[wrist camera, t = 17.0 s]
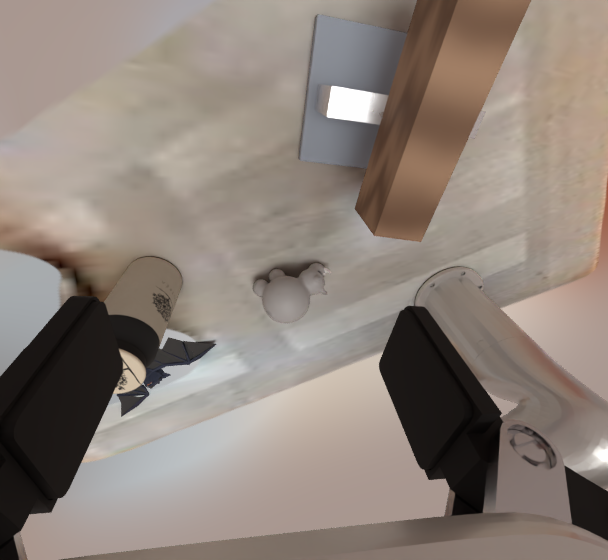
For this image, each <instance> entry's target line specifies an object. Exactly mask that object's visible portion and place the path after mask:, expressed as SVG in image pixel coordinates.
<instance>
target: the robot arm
mask: <svg viewBox="0 0 608 560" xmlns="http://www.w3.org/2000/svg"><path fill="white" fill-rule="evenodd" d="M483 289H484V284H483V280H482V278H481V277H480V275H478V274H477V273H476V272H475V271H474V270H472V269H469V268H465V267H454V268H450V269H446V270H444V271H441V272H439V273H438V274H436V275H434V276H433V277H431V278H430V279H429V280H428V281H427V282H425V283H424V285H423V286H422V287H421V288H420V290H419V292H418V294H417V296H416V299H415V306H407V307H406V308H405V309H404V310H402V311H400V313H399V316H398V318H397V320H396V323H395V325H394V328H393V330H392V333H391V335H390V337H389V340H388V342H387V345H386V347H385V350H384V352H383V355H382V357H381V359H380V363H379V369H380V372H381V375H382V377H383V380H384V382H385V385H386V387H387V390H388V392H389V394H390V397H391V399H392V402H393V404H394V407H395V409H396V411H397V414H398V416H399V419H400V421H401V424H402V426H403V429H404V431H405V434H406V436H407V438H408V441H409V443H410V446H411V448H412V451H413V453H414V456H415V458H416V461H417V463H418V465H419V466H420V468H422V469H424V470H425V472H426V475H427V477H428V479H429V480H434V479H445V478H446V481H447V483H448V485H449V487H450V489H449V494H448V499H447V505H446V510H445V515H444V517H433V518H423V519H414V520H404V521H395V522H385V523H377V524H367V525H357V526H347V527H339V528H329V529H320V530H311V531H302V532H293V533H284V534H276V535H266V536H258V537H249V538H239V539H230V540H222V541H212V542H203V543H196V544H186V545H178V546H169V547H161V548H152V549H143V550H135V551H126V552H117V553H109V554H100V555H91V556H84V557H77V558H69V559H61V560H608V491H606V490H605V489H606V488H608V402H607V401H605V400H604V399H603V398H601V397H600V396H599V395H597V394H596V393H594V392H593V391H592V390H590V389H589V388H588V387H587V386H585V385H584V384H583V383H581V382H580V381H579V380H578V379H576V378H575V377H574V376H572V375H571V374H570V373H569V372H568V371H566V370H565V369H564V368H563V367H562V366H561V365H559V364H558V363H557V362H556V361H555V360H554V359H553V358H552V357H551V356H550V355H548V354H547V353H546V352H545V351H544V350H543V349H542V348H541V347H540V346H539V345H538V344H537V343H536V342H534V340H532V339H531V338H530V337H529V336H528V335H527V334H526V333H525V332H524V331H523V330H522V329H521V328H520V327H519V326H518V325H517V324H516V323H515V322H514V321H513V320H512V319H510V317H508V316H507V315H506V314H505V313H504V312H503V311H502V310H501V309H500V308H499V307H498V306H497V305H496V304H495V303H494V302H493V301H492V300H491V299H490V298H489V297H488V296H487V295H486V294H485V293H484V292H483ZM122 372H123V361H122V358H121V354H120V351H119V348H118V344H117V341H116V338H115V334H114V331H113V328H112V324H111V321H110V318H109V314H108V311H107V308H106V305H105V303H104V302H100V301H99V299H98V298H97V297H93V296H72V297H70V298H69V299H68V300H67V301H66V302H65V303H64V304H63V306H62V307H61V308H60V309H59V310H58V311H57V312H56V314H55V315H54V316H53V317H52V318H51V319H50V321H49V322H48V323H47V324H46V325H45V326H44V328H43V329H42V330H41V331H40V332H39V333H38V335H37V336H36V337H35V338H34V339H33V340H32V342H31V343H30V344H29V345H28V346H27V347H26V348H25V349H24V350H23V351H22V352H21V353H20V355H19V356H18V357H17V358H16V359H15V360H14V362H13V363H12V364H11V365H10V366H9V367H8V368H7V370H6V371H5V372H4V373H3V374H2V375H1V376H0V560H27V556H26V552H25V548H24V545H23V541H22V537H21V534H20V531H21V529H22V527H23V526H24V524H25V522H26V520H27V518H28V516H29V514H37V513H49V512H52V509H53V507H54V505H55V503H56V501H57V499H58V498H62V497H63V496H64V495H65V494H66V493H67V491H68V489H69V488H70V485H71V483H72V481H73V479H74V477H75V475H76V473H77V470H78V468H79V466H80V464H81V462H82V460H83V457H84V455H85V453H86V451H87V449H88V447H89V444H90V442H91V440H92V438H93V436H94V434H95V431H96V429H97V427H98V425H99V423H100V421H101V418H102V416H103V414H104V412H105V410H106V408H107V405H108V403H109V401H110V399H111V397H112V394H113V392H114V390H115V388H116V386H117V384H118V382H119V379H120V377H121V375H122ZM486 391H487V392H489V393H490V394H492V395H495V396H497V397H499V398H502V399H504V400H507V401H511V402H514V403H517V404H518V406H517V407H516V408H514V409H513V410H511V411H510V412H509V413H508V414H506V415H504V416H503V417H501V418H500V415H501V414H502V413H501V411H500V410H499V409H498V407H497V406H496V404H495V403H494V402H493V400H492V399H491V398H490V396H489V395H488V393H487V392H486Z"/></svg>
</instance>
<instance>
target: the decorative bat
mask: <svg viewBox="0 0 608 560" xmlns="http://www.w3.org/2000/svg"><path fill="white" fill-rule="evenodd" d="M215 345H216V344H210V343H197V342H187V341H186V342H185V341H180V340H176V339H172V338H168V339H167V341H166V343H165V345H164V347H163V349H158V352H157V355H156V357H155V359H154V361H153V362H152V363H151V364H150V365H149V366H148V367H146V368H145V369H146V378H145V380H144V384H145V386H146V387H149V388H152V387H154V386H155V385H156V384H159V383H160V381H161V380H162V378H166V377H168V376H170V374H167V373H164V371H163V370H162V369H161V368H163V367H165V366H174V365H189V364H190V363H192V362H194V361H196V360H198V359H200V358H201V357H202V356H203V355H205V354H206V353H207V352H208V351H209V350H210V349H211V348H213V347H214V346H215ZM145 386H144V385H140V386H139V387H138V388H136V389H134V390H132V391H129V392H125V393H119V394H117V396H118V397H119V399H120V401H121V417H122V416H123V415H125V414H126V413H128V412H129V411H131V410H132V409H134V408H135V407H137V406H138V405H139V404H140V403H141V402H142V401H143V400H144V399H145V398H146V397H147V396H149V393H148V391H147V389H146V387H145ZM139 395H145V396H143V397H136V396H139Z"/></svg>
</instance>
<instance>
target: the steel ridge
mask: <svg viewBox="0 0 608 560" xmlns="http://www.w3.org/2000/svg"><path fill="white" fill-rule="evenodd" d="M388 96H389V95H383V94H377V93H371V92H365V91H359V90H353V89H347V88H341V87H335V86H329V85H321V84H318V90H317V98H316V105H315V110H316V111H318V112H319V113H321V114H323V115H324V116H326V117H330V118H337V119H344V120H351V121H357V122H364V123H371V124H378V125H380V123H381V119H382V116H383V113H384V109H385V106H386V103H387V99H388ZM484 115H485V111H480V114H479V116H478V118H477V120H476V122H475V125H474V127H473V129H472V131H471V133H470V135H469V138H473V139H475V136H476V134H477V132H478V129H479V127H480V124H481V122H482V120H483V117H484Z"/></svg>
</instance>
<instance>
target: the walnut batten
mask: <svg viewBox="0 0 608 560" xmlns="http://www.w3.org/2000/svg"><path fill="white" fill-rule="evenodd" d="M530 2H531V0H417V3H416V6H415V9H414V13H413V16H412V19H411V23H410V26H409V29H408V33H407V36H406V39H405V43H404V46H403V49H402V53H401V56H400V59H399V63H398V66H397V69H396V73H395V76H394V79H393V83H392V86H391V89H390V93H389V96H388V99H387V103H386V106H385V109H384V113H383V116H382V119H381V123H380V126H379V129H378V133H377V136H376V139H375V143H374V146H373V149H372V153H371V156H370V159H369V163H368V166H367V169H366V173H365V176H364V179H363V183H362V186H361V189H360V193H359V196H358V199H357V203H356V206H355V210H356V211H357V213H358V214H359V215H360V217H361V218H362V220H363V221H364V222H365V224H366V225H367V226H368V228H369V229H370V231H371V232H372V233H373V235H374V236H380V237H388V238H395V239H403V240H411V241H418V242H421V241H422V238H423V236H424V234H425V232H426V230H427V228H428V225H429V223H430V221H431V219H432V217H433V214H434V212H435V210H436V208H437V206H438V203H439V201H440V199H441V197H442V195H443V192H444V190H445V188H446V186H447V184H448V181H449V179H450V177H451V175H452V173H453V171H454V168H455V166H456V164H457V162H458V160H459V157H460V155H461V153H462V151H463V149H464V146H465V144H466V142H467V140H468V138H469V135H470V133H471V131H472V129H473V127H474V125H475V122H476V120H477V118H478V116H479V114H480V111H481V109H482V107H483V105H484V103H485V100H486V98H487V96H488V94H489V92H490V89H491V87H492V85H493V83H494V81H495V78H496V76H497V74H498V72H499V70H500V68H501V65H502V63H503V61H504V59H505V57H506V54H507V52H508V50H509V48H510V46H511V43H512V41H513V39H514V37H515V35H516V32H517V30H518V28H519V26H520V24H521V22H522V19H523V17H524V15H525V13H526V11H527V8H528V6H529V4H530Z"/></svg>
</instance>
